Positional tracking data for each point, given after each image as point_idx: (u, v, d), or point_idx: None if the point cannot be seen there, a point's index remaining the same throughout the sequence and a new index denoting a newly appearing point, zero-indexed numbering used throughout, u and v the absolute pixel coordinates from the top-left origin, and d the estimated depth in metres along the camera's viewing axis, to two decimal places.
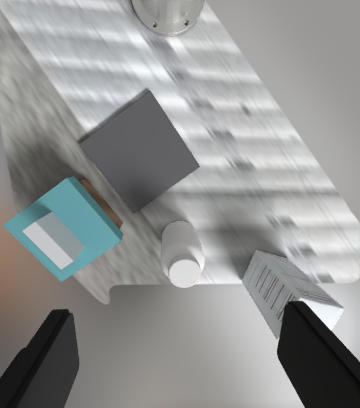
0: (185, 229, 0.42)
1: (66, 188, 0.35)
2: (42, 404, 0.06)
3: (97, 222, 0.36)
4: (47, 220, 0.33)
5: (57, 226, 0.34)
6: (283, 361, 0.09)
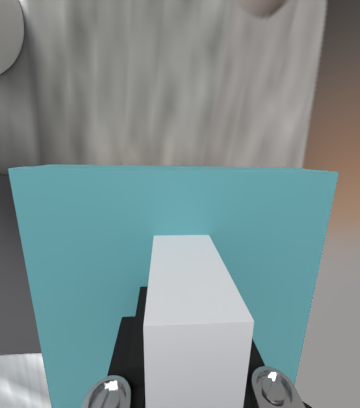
0: None
1: (73, 400, 0.12)
2: None
3: (52, 281, 0.10)
4: None
5: None
6: None
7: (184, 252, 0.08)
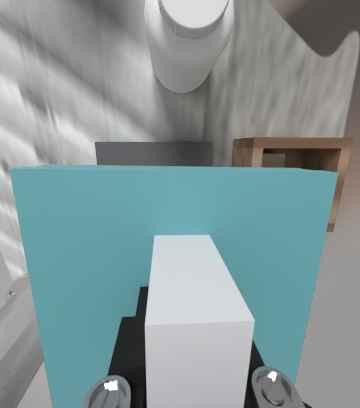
0: (158, 70, 0.24)
1: (74, 399, 0.12)
2: None
3: (53, 280, 0.10)
4: None
5: None
6: None
7: (185, 252, 0.08)
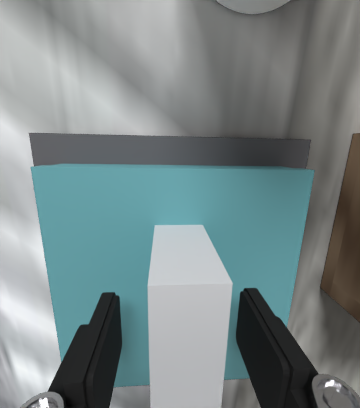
0: None
1: None
2: (106, 369, 0.07)
3: (66, 264, 0.11)
4: None
5: None
6: (239, 344, 0.10)
7: (180, 237, 0.09)
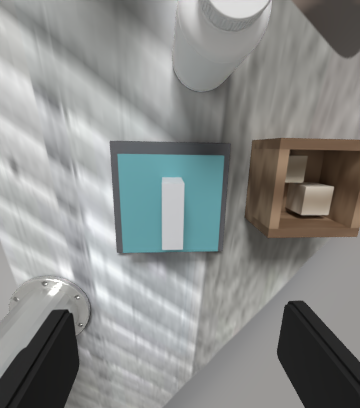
0: (182, 66, 0.23)
1: (130, 244, 0.30)
2: (42, 404, 0.06)
3: (127, 193, 0.28)
4: None
5: None
6: (283, 361, 0.09)
7: (171, 179, 0.26)
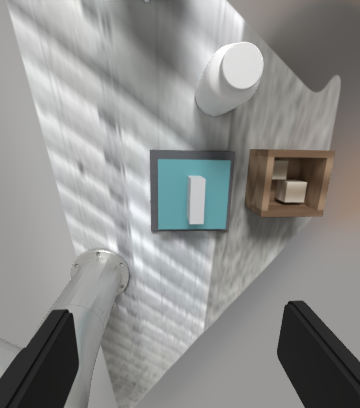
0: (204, 102, 0.36)
1: (164, 223, 0.42)
2: (42, 404, 0.06)
3: (163, 186, 0.40)
4: (188, 216, 0.39)
5: (187, 206, 0.40)
6: (283, 361, 0.09)
7: (195, 176, 0.39)
